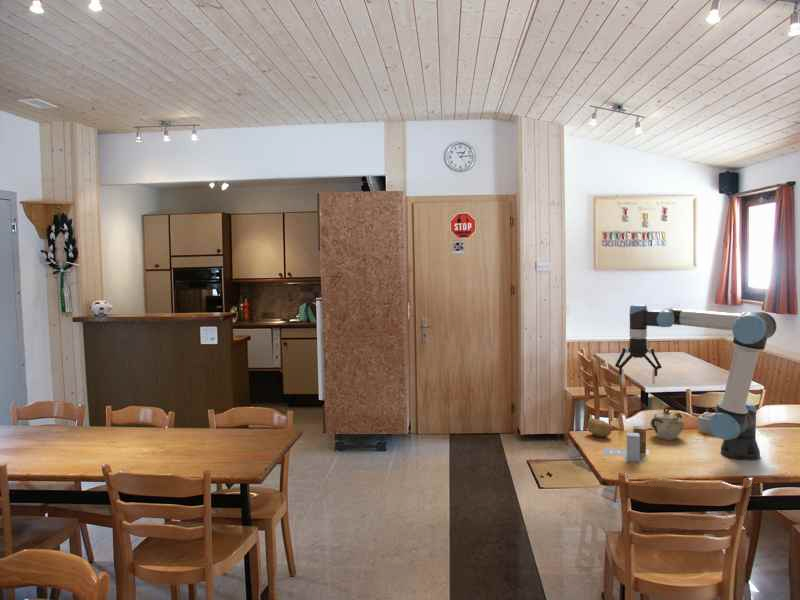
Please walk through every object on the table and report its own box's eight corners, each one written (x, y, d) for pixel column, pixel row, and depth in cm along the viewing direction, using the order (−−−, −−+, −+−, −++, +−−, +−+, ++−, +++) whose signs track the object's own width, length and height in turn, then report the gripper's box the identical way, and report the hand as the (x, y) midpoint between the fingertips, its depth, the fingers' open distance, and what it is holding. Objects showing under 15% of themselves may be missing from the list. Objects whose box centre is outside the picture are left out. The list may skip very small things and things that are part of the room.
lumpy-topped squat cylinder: (729, 432, 304) (730, 415, 304) (706, 434, 302) (707, 417, 301) (715, 427, 315) (715, 410, 314) (692, 429, 312) (692, 412, 311)
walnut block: (644, 450, 279) (645, 426, 278) (645, 453, 274) (646, 429, 274) (633, 449, 281) (633, 425, 280) (633, 452, 276) (633, 428, 275)
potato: (601, 441, 294) (601, 425, 294) (582, 433, 307) (582, 418, 307) (617, 438, 298) (618, 422, 298) (598, 431, 311) (598, 415, 311)
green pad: (648, 450, 280) (648, 449, 280) (649, 455, 272) (649, 455, 272) (629, 448, 282) (629, 448, 282) (630, 454, 275) (630, 453, 275)
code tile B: (642, 458, 269) (642, 457, 269) (643, 463, 262) (643, 463, 262) (622, 456, 272) (622, 455, 272) (623, 462, 264) (623, 461, 264)
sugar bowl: (664, 444, 288) (665, 412, 287) (639, 436, 302) (639, 406, 300) (694, 438, 297) (694, 407, 296) (668, 430, 310) (668, 401, 309)
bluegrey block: (638, 458, 268) (638, 433, 268) (639, 461, 264) (639, 436, 263) (626, 457, 270) (626, 432, 269) (627, 460, 265) (627, 435, 264)
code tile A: (625, 449, 281) (625, 449, 281) (626, 456, 271) (626, 456, 271) (602, 448, 284) (602, 447, 284) (602, 455, 274) (602, 454, 274)
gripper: (666, 337, 289) (665, 382, 290) (609, 336, 296) (609, 380, 298) (667, 339, 281) (667, 385, 283) (610, 338, 289) (610, 383, 290)
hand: (637, 382), depth 290 cm, fingers open, 13 cm apart
